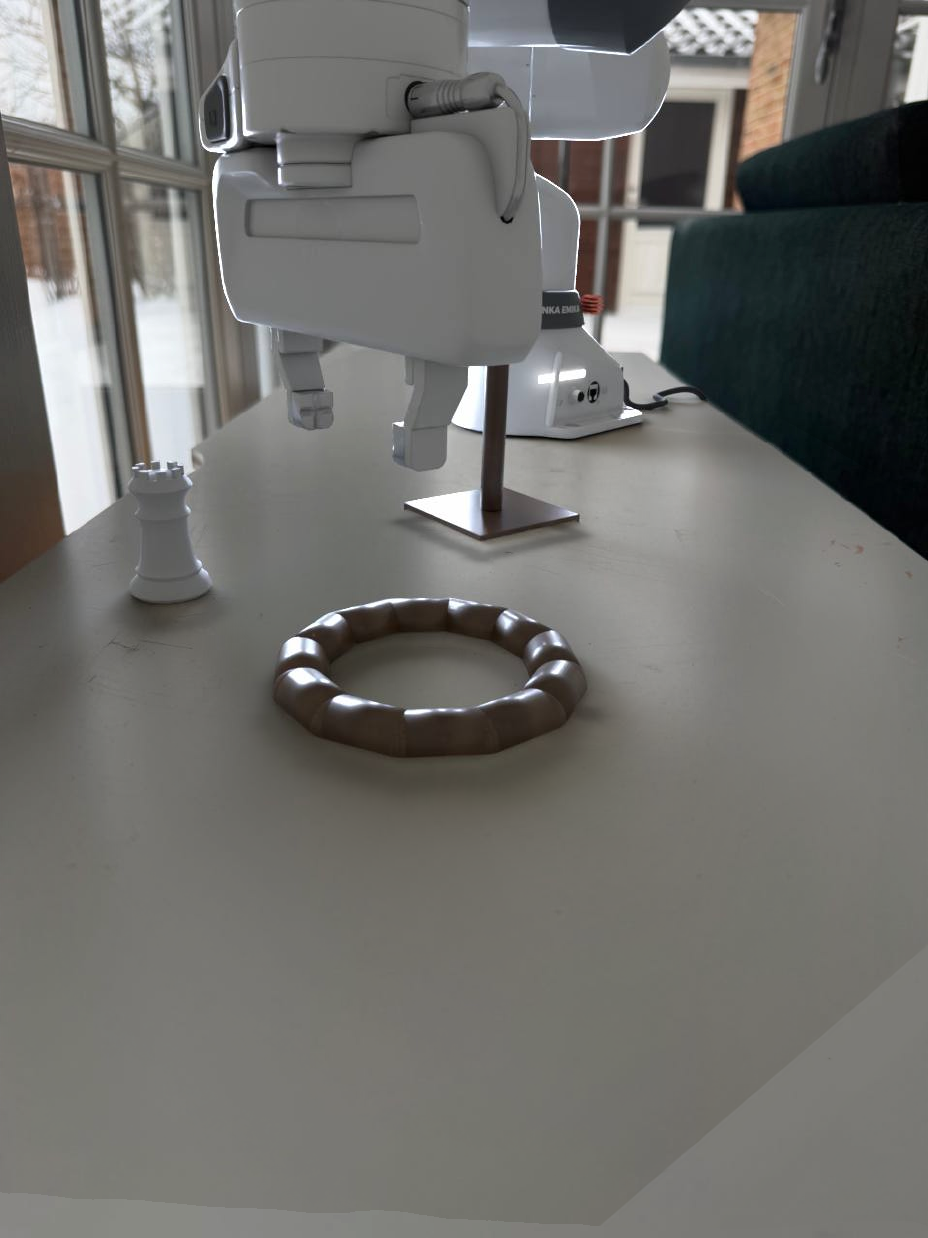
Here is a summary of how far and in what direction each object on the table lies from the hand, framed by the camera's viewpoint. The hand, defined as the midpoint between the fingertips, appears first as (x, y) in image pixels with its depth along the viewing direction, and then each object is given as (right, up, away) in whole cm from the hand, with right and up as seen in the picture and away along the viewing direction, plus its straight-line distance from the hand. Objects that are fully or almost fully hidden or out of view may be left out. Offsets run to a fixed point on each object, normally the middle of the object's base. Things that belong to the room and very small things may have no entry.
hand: (360, 445), depth 40 cm
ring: (+3, -10, 0) cm, 11 cm away
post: (+7, -1, +23) cm, 24 cm away
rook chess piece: (-11, -8, +9) cm, 16 cm away
